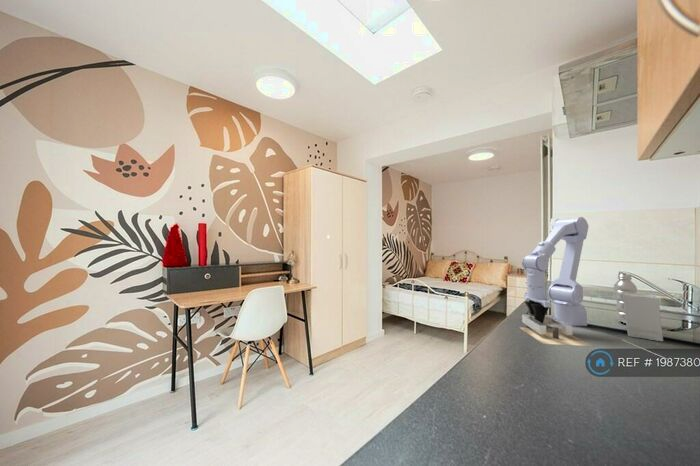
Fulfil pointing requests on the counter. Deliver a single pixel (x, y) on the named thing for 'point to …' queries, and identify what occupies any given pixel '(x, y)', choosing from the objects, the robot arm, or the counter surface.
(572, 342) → the hook board
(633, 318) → the skincare box
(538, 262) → the robot arm
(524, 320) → the c link
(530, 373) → the counter surface
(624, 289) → the plastic bottle
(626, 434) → the counter surface
